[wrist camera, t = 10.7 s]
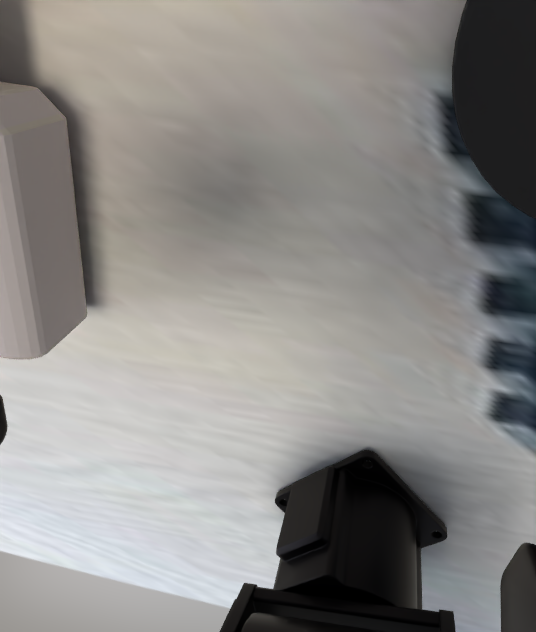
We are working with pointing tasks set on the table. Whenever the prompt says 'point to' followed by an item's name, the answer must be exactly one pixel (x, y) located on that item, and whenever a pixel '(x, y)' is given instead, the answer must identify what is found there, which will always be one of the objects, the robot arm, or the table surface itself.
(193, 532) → the table surface
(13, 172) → the charger
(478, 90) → the coaster
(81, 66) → the table surface
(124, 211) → the table surface
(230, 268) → the table surface
